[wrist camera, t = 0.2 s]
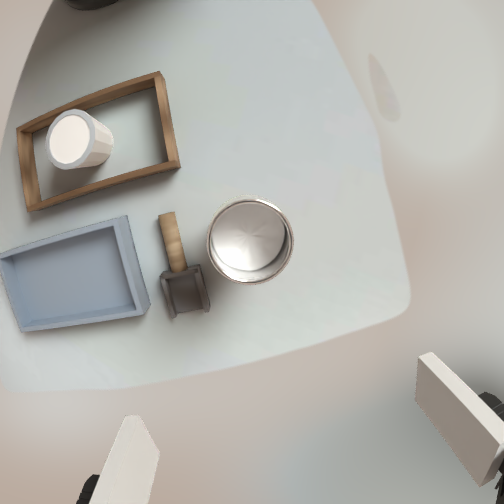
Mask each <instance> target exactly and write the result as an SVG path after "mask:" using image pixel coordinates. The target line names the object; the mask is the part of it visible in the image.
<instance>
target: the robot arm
mask: <svg viewBox="0 0 504 504" xmlns="http://www.w3.org/2000/svg"><path fill="white" fill-rule="evenodd" d="M65 1H66V2H67V3H68V4H69V5H70V6H71V7H73V8H76V9H80V10H91V9H97V8H101V7H104V6H107V5H109V4H112V3H114V2H116V1H118V0H65ZM415 401H416V402H417V404H418V405H419V406H420V407H421V409H422V410H423V411H424V413H425V414H426V415H427V417H428V418H429V419H430V421H431V422H432V423H433V425H434V426H435V427H436V429H437V430H438V431H439V433H440V434H441V435H442V437H443V438H444V439H445V441H446V442H447V443H448V445H449V446H450V447H451V449H452V450H453V451H454V453H455V454H456V456H457V457H458V458H459V460H460V461H461V462H462V464H463V465H464V467H465V468H466V469H467V471H468V472H469V474H470V475H471V476H472V478H473V479H474V481H475V482H476V483H477V485H478V486H479V487H481V486H483V485H484V484H486V483H488V482H489V481H490V480H492V479H494V477H495V476H496V474H497V472H498V470H499V471H500V472H501V473H502V476H501V478H500V479H499V481H498V483H497V485H496V487H495V489H497V488H498V487H499V490H498V495H497V500H496V504H504V404H502V402H501V401H500V400H499V399H498V398H497V397H496V396H494V395H492V394H489V393H487V392H484V393H482V394H480V395H479V396H477V395H476V394H475V393H474V392H473V391H472V390H471V389H470V388H469V387H468V386H467V385H466V384H465V383H464V382H463V381H462V380H461V379H460V378H459V377H458V376H457V375H456V374H455V373H453V371H451V370H450V369H449V368H448V367H447V366H446V365H445V364H444V363H443V362H442V361H441V360H440V359H439V358H438V357H437V356H436V355H435V354H433V353H432V352H429V353H426V354H424V355H421V356H419V357H418V367H417V382H416V393H415ZM159 456H160V452H159V450H158V449H157V447H156V445H155V443H154V442H153V440H152V438H151V436H150V434H149V432H148V430H147V429H146V427H145V425H144V423H143V421H142V419H141V417H140V415H129V416H125V418H124V420H123V422H122V425H121V427H120V429H119V432H118V434H117V436H116V439H115V441H114V443H113V446H112V448H111V450H110V453H109V455H108V458H107V460H106V463H105V465H104V467H103V470H102V472H101V475H94V474H93V475H92V476H91V477H90V478H89V479H88V480H87V481H86V482H85V484H84V486H83V489H82V493H80V496H79V500H78V501H77V503H76V504H148V501H149V497H150V493H151V489H152V484H153V480H154V476H155V472H156V468H157V464H158V460H159Z"/></svg>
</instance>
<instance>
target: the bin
mask: <svg viewBox="0 0 504 504" xmlns="http://www.w3.org/2000/svg"><path fill="white" fill-rule="evenodd" d="M0 272H1V275H2V279H3V282H4V285H5V289H6V292H7V295H8V298H9V301H10V304H11V307H12V310H13V312H14V315H15V318H16V320H17V323H18V326H19V328H20V331H21V332H28V331H36V330H44V329H51V328H59V327H66V326H73V325H80V324H87V323H94V322H100V321H107V320H113V319H119V318H126V317H132V316H138V315H144V313H145V312H146V311H147V309H148V308H149V306H150V305H151V303H150V300H149V297H148V293H147V290H146V287H145V283H144V280H143V276H142V272H141V269H140V265H139V261H138V258H137V254H136V250H135V246H134V242H133V238H132V234H131V230H130V226H129V221H128V217H127V215H126V216H123V217H119V218H115V219H111V220H108V221H104V222H100V223H97V224H93V225H90V226H86V227H83V228H79V229H76V230H72V231H69V232H66V233H62V234H59V235H56V236H52V237H49V238H46V239H43V240H39V241H36V242H33V243H30V244H27V245H24V246H21V247H18V248H15V249H12V250H9V251H6V252H3V253H0Z"/></svg>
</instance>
